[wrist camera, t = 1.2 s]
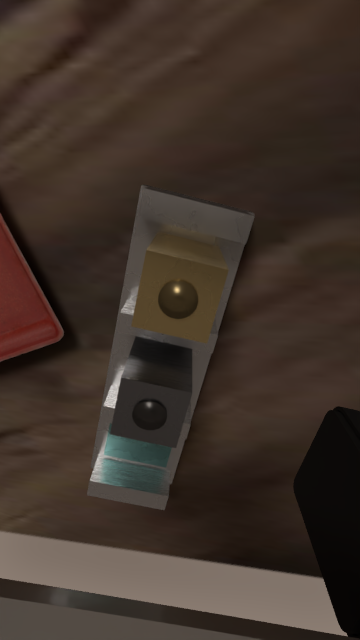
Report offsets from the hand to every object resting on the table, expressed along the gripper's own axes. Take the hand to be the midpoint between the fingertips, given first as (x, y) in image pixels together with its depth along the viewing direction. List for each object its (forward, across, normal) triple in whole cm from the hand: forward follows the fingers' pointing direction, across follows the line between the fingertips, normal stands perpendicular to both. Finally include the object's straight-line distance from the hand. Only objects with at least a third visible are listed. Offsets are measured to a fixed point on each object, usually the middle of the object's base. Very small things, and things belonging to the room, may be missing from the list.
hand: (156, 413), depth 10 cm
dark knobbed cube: (+17, 0, +8) cm, 19 cm away
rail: (+19, 0, +8) cm, 21 cm away
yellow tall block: (+17, 0, 0) cm, 17 cm away
